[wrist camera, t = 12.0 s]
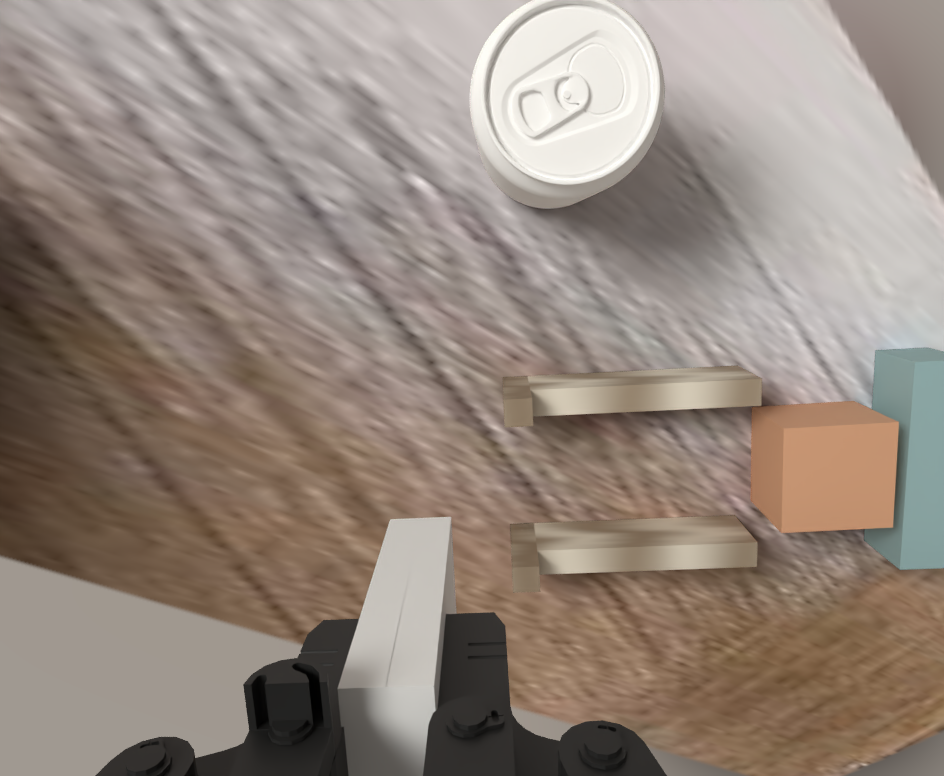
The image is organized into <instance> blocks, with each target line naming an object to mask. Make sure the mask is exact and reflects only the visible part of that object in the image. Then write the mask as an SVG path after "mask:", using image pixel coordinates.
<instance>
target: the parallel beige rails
mask: <svg viewBox="0 0 944 776" xmlns="http://www.w3.org/2000/svg"><path fill="white" fill-rule="evenodd" d="M761 397H762V378H760V377H758V376H756V375H754V374H752V373H750V372H748V371H747V370H745V369H743V368H741V367H739V366H720V367H700V368H680V369H660V370H640V371H620V372H600V373H580V374H560V375H541V376H521V377H503V403H504V423H505V427H523V426H533V416H554V415H575V414H596V413H618V412H639V411H660V410H681V409H702V408H723V407H744V406H761ZM510 531H511V558H512V580H513V593H514V592H540V575H542V574H570V573H598V572H625V571H653V570H681V569H708V568H736V567H757V544H758V542H757V541H756V540H755V539H754V538H753V536H752V535H751V534H750V533H749V532H748V531H747V529H746V528H745V527H744V526H743V525H742V523H741V522H740V521H739V520H738V519H737V518H736V516H735V515H727V516H702V517H677V518H652V519H627V520H602V521H576V522H551V523H526V524H510Z"/></svg>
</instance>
